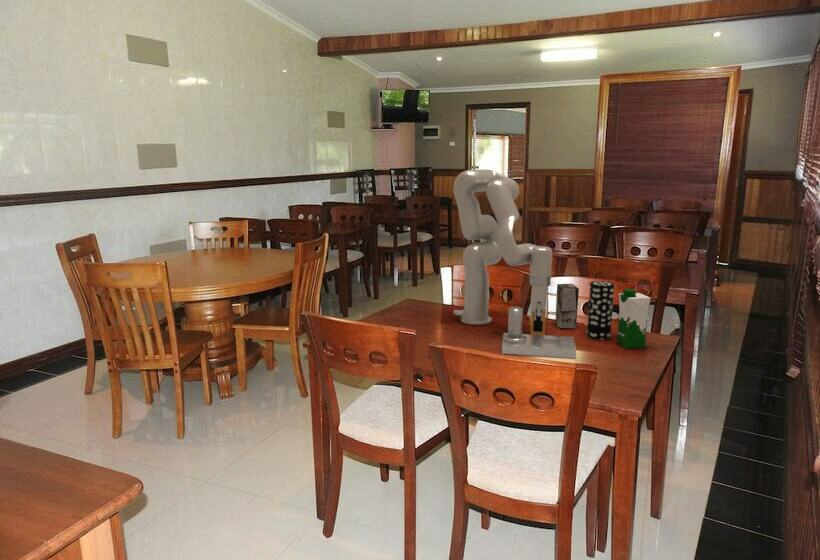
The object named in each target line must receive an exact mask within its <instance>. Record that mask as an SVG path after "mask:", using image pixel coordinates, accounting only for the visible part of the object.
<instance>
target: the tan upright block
mask: <svg viewBox="0 0 820 560" xmlns="http://www.w3.org/2000/svg"><path fill="white" fill-rule="evenodd" d="M530 312H531V311H530ZM536 312H537V311H536ZM541 312H542V311H541ZM546 313H547V310H546V308H545V312H544V313H543V316H542V321H543V329H542V332H537V331H533V327H534V320H535V312H533V313H532V312H531V314H530V315H531V316H530V334H531V335H546V318H547V317H546V315H547V314H546ZM536 315H537V314H536Z"/></svg>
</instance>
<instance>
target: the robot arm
mask: <svg viewBox="0 0 820 560" xmlns="http://www.w3.org/2000/svg"><path fill="white" fill-rule="evenodd" d="M452 189H453V195H454V199H455V202H456V205H457V210H458V216H459V221H460V228H461V232H462V235H463V237H464V238H465V239H466V240H468V241H476V240H479V242H475V243H471V244H469V245H468V246H466V247H465V248H464V250H463V253H462V260H463V266H464V308H463V309H460V310H459V309H453V315H455V316H460V322H461V323H463V324H466V325H473V326H481V325H483V326H484V325H488V324H491V323H492V322H493V318H492V317H491V316H489V294H490V277H489V275H490V274H489V272H488V269H487V266H492V265H496V264H498V263H499V262H500V261H501V259H502V258H503V260H504V262H505V263H506V264H507V265H508V266H511V267H519V266H523V265H529V279H528V280H529V286H531V293H530V294H531V295H530V297H531V298H530V312H532V313H533V312H535V320H534V327H533V331H537V332H542V329H543V321H542V316H543V313H544V312H545V309H546V306H547V296H548V295H547V294H548V293H547V289H548V287H550V286H551V283H552V264H553V263H552V262H553V249H552V248H551V247H549V246H545V245H544V246H543V245H541V246H540V245H535V244H532V243H529V242H527V243H522V244H520V243H519V244H517V242H516V241H515V240H516V239H515V238H514V233H513V231H514V230H513V229H514V225H515V223H516V222H517V221H518V220H519V217H520V212H519V210H518V207H517V206H516V202H515V201H514V200H516V199H518V196H519V194H520V187H519V185H518V183H517V181H516V180H514V179H513V178H510V177H508V176H506V175H504V174H502V173H499V172H497V171H495V170H492V169H468V170H465V171H462V172H460V173H459V174H458V175H457V176H456V178H455V180H454V182H453V188H452ZM475 192H479V193H481V192H485V195H486V197H487V200H488V202H489V205H490V207H491V210H492V211H493V215H494V217H495V218H494V217H493V216H491V215H489V214H482V212H481V208H480V207H481V206H480V203H479V200H478V198H477V197H476V196H475ZM495 219H496V220H495ZM536 311H537V312H536ZM541 311H542V312H541ZM536 314H537V315H536Z"/></svg>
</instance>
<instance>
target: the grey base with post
mask: <svg viewBox="0 0 820 560" xmlns="http://www.w3.org/2000/svg"><path fill="white" fill-rule="evenodd" d="M507 316H508V317H507V318H508V319H507V332H503V334H502V335H503V336H502V343H501V344H502V345H501V354H503V355H514V354H516V355H515V356H517V355H518V356H531V357H532V356H533V357H545V358H546V357H547V358H561V359H576V358H577V347H576V342H575V340H574V338H575V337H574V336H563V335H562V336H561V335H546V334H545V335H530V334H531V333H523V323H524V322H523V321H524V320H523V318H524V317H523V316H524V309H523V307H519V306H512V307H508V315H507Z"/></svg>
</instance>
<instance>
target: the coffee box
mask: <svg viewBox="0 0 820 560" xmlns="http://www.w3.org/2000/svg"><path fill="white" fill-rule="evenodd" d="M579 292H580V288H579V287H578V286H576V285H575V284H573V283H557V284H556V297H555V298H556V301H555V302H556V303H555V304H556V305H555V322H556V323H557V324H556V323H555V322H554V323H555V324H556V325H557V327H558V328H559V327H560V328H576V329H577V324H578V323H577V321H578V308H579V307H578V305H579ZM560 328H559V329H560Z"/></svg>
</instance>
